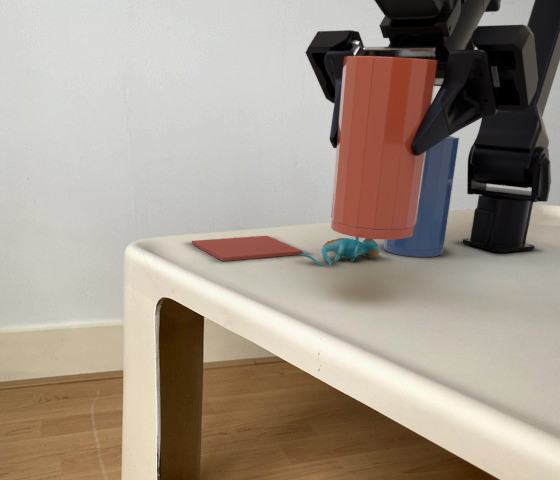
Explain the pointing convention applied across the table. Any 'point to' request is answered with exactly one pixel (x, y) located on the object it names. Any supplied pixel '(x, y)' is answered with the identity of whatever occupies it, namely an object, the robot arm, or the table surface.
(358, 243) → the dragon figurine
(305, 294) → the table surface
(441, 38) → the robot arm
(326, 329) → the table surface
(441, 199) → the blue cup
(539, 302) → the table surface
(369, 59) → the red cup
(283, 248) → the red mat
